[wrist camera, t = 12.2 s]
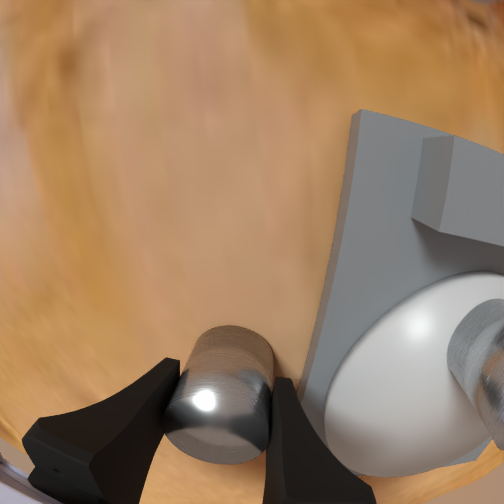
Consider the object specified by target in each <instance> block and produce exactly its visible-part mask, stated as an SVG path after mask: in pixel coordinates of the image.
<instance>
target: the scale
mask: <svg viewBox="0 0 504 504" xmlns="http://www.w3.org/2000/svg"><path fill="white" fill-rule="evenodd" d="M490 299H503V300H504V154H501V153H499V152H497V151H494V150H492V149H489V148H487V147H484V146H482V145H479V144H477V143H474V142H472V141H469V140H466V139H464V138H461V137H458V136H455V135H452V134H449V133H446V132H443V131H440V130H437V129H434V128H430V127H427V126H424V125H421V124H417V123H414V122H411V121H407V120H403V119H400V118H396V117H392V116H388V115H384V114H380V113H376V112H372V111H368V110H363V109H361V110H359V111H358V112H356V113H354V114H353V115H352V119H351V128H350V136H349V144H348V151H347V159H346V166H345V173H344V179H343V186H342V192H341V198H340V204H339V210H338V216H337V222H336V227H335V233H334V238H333V243H332V249H331V254H330V259H329V264H328V269H327V274H326V278H325V283H324V288H323V292H322V297H321V301H320V306H319V310H318V314H317V319H316V323H315V327H314V331H313V335H312V339H311V343H310V347H309V351H308V355H307V359H306V363H305V366H304V370H303V374H302V378H301V381H300V385H299V388H298V392H297V397H298V399H299V401H300V404H301V406H302V408H303V410H304V412H305V414H306V416H307V418H308V419H309V421H310V423H311V425H312V426H313V428H314V430H315V431H316V433H317V434H318V436H319V437H320V438H321V440H322V441H323V443H324V444H325V445H326V446H327V448H328V449H329V450H330V451H331V452H332V454H333V455H334V456H335V457H336V458H337V459H338V460H339V461H340V462H341V463H342V464H343V465H344V466H345V467H346V468H347V469H348V470H349V471H351V472H352V473H353V474H354V475H355V476H360V475H369V476H375V477H403V476H410V475H415V474H419V473H423V472H427V471H430V470H433V469H436V468H440V467H445V466H451V465H456V464H461V463H466V462H470V461H474V460H476V459H477V458H478V457H479V455H480V454H481V453H482V452H483V450H484V449H485V448H486V447H487V445H488V444H489V443H490V441H491V440H492V439H493V438H492V437H491V435H490V433H489V431H488V430H487V428H486V426H485V424H484V423H483V421H482V419H481V418H480V416H479V414H478V413H477V411H476V409H475V408H474V406H473V404H472V403H471V401H470V399H469V398H468V396H467V395H466V393H465V392H464V390H463V388H462V387H461V385H460V384H459V382H458V381H457V379H456V378H455V376H454V374H453V373H452V371H451V370H450V368H449V367H448V364H447V348H448V344H449V341H450V339H451V337H452V334H453V332H454V331H455V329H456V327H457V326H458V324H459V323H460V322H461V320H462V319H463V318H464V317H465V316H466V315H467V314H468V313H469V312H470V311H471V310H472V309H473V308H475V307H476V306H477V305H479V304H481V303H482V302H485V301H487V300H490Z"/></svg>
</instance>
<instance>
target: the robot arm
mask: <svg viewBox="0 0 504 504" xmlns="http://www.w3.org/2000/svg"><path fill="white" fill-rule="evenodd" d="M179 378H180V360H176V359H171V358H167V357H166V358H165V359H163V360H162V361H161V362H160V363H158V364H157V365H156V366H155V367H154V368H152V369H151V370H150V371H148V372H147V373H146V374H145V375H143V376H142V377H141V378H139V379H138V380H136V381H135V382H134V383H132V384H131V385H129V386H128V387H126V388H124V389H123V390H121V391H120V392H118V393H116V394H115V395H113V396H111V397H109V398H107V399H105V400H103V401H101V402H98V403H96V404H93V405H91V406H88V407H85V408H83V409H80V410H76V411H73V412H69V413H65V414H60V415H55V416H49V417H42V418H39V419H38V420H37V421H36V422H35V423H34V424H33V425H32V427H31V428H30V429H29V430H28V432H27V433H26V434H25V436H24V437H23V438H22V443H23V446H24V448H25V450H26V452H27V454H28V455H29V457H30V459H31V460H32V462H33V464H34V465H35V468H34V469H33V471H32V472H31V474H30V475H28V474H27V473H25V472H24V471H22V470H20V469H19V468H17V467H16V466H14V465H13V464H11V463H10V462H8V461H7V460H5V459H4V458H2V455H1V453H0V504H139V501H140V498H141V494H142V490H143V487H144V484H145V481H146V477H147V474H148V471H149V468H150V465H151V462H152V459H153V457H154V454H155V452H156V450H157V448H158V445H159V443H160V441H161V439H162V437H163V435H164V431H163V428H162V416H163V413H164V411H165V409H166V407H167V405H168V402H169V400H170V398H171V396H172V393H173V391H174V389H175V387H176V385H177V383H178V380H179ZM263 504H376V499H375V496H374V494H373V491H372V488H371V486H369V485H368V484H366V483H365V482H364V481H362V480H361V479H360V478H358V477H357V476H355V475H354V474H353V473H352V472H351V471H349V470H348V469H347V468H346V467H345V466H344V465H343V464H342V463H341V462H340V461H339V460H338V459H337V458H336V457H335V456H334V455H333V454H332V452H331V451H330V450H329V449H328V448H327V446H326V445H325V444H324V443H323V441H322V440H321V438H320V437H319V436H318V434H317V433H316V431H315V430H314V428H313V426H312V425H311V423H310V421H309V419H308V418H307V416H306V414H305V412H304V410H303V408H302V406H301V404H300V401H299V399H298V397H297V394H296V392H295V389H294V386H293V382H292V380H291V379H290V378H282V377H275V382H274V386H273V391H272V397H271V411H270V424H269V437H268V444H267V447H266V479H265V488H264V496H263Z"/></svg>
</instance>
